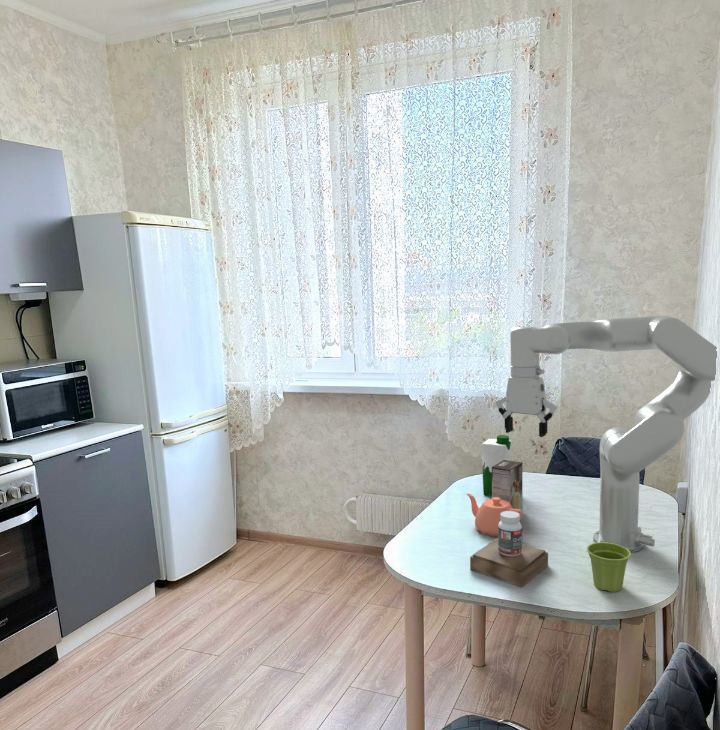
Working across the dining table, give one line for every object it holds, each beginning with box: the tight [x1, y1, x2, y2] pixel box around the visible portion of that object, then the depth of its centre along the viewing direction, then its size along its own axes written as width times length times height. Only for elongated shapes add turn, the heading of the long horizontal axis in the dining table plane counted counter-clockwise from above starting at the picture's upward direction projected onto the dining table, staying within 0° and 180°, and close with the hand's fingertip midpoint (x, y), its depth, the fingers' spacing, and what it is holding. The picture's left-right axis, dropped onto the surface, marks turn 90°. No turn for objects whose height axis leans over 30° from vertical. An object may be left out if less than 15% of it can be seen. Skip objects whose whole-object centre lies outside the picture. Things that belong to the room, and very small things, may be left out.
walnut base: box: [469, 537, 549, 588], centre depth 147 cm, size 14×14×4 cm
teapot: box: [465, 493, 524, 538], centre depth 170 cm, size 12×18×10 cm
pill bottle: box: [497, 511, 523, 557], centre depth 146 cm, size 6×6×10 cm
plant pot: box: [586, 542, 632, 593], centre depth 136 cm, size 9×9×9 cm
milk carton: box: [481, 434, 512, 497], centre depth 199 cm, size 9×9×20 cm
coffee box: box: [491, 460, 524, 512], centre depth 180 cm, size 9×6×16 cm
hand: (525, 433), depth 161 cm, fingers open, 9 cm apart
